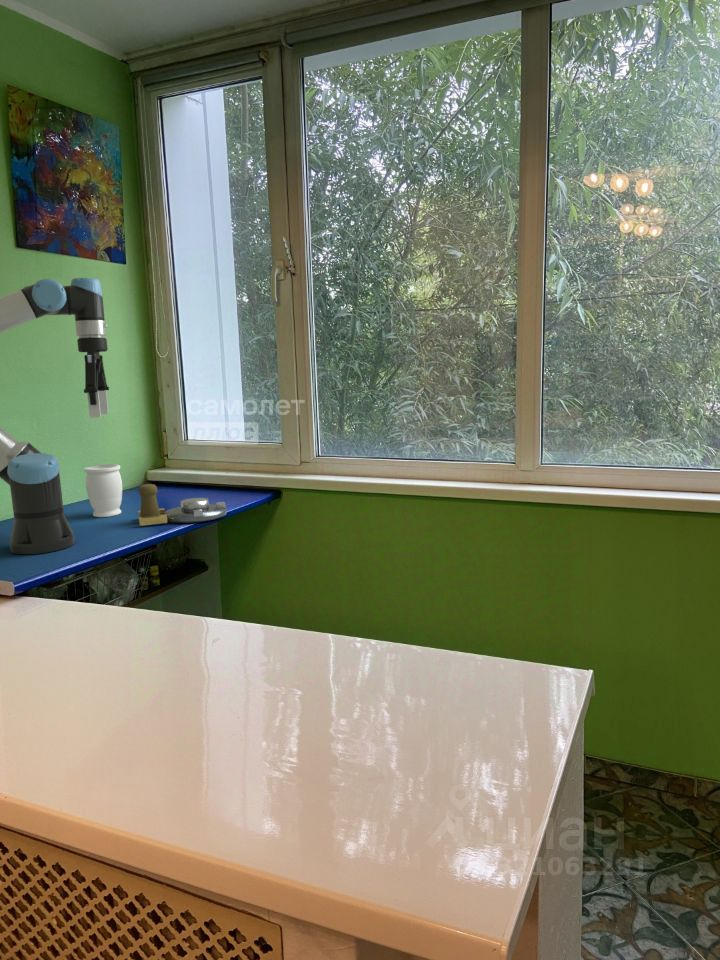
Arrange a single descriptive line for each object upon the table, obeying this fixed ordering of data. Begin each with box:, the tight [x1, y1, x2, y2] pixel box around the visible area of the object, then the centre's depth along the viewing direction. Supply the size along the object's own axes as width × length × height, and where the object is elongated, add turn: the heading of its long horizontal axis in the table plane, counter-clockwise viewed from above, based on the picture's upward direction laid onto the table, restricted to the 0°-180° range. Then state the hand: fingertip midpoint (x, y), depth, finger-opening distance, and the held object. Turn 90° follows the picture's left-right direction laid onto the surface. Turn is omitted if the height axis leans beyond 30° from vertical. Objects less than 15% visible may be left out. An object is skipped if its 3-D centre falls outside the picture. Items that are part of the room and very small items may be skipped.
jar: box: [83, 463, 123, 518], centre depth 216 cm, size 11×10×15 cm
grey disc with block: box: [137, 497, 227, 526], centre depth 207 cm, size 25×18×4 cm
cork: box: [137, 483, 160, 517], centre depth 204 cm, size 6×6×11 cm
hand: (99, 415), depth 195 cm, fingers open, 13 cm apart
